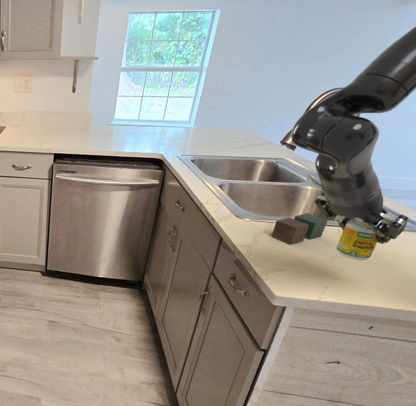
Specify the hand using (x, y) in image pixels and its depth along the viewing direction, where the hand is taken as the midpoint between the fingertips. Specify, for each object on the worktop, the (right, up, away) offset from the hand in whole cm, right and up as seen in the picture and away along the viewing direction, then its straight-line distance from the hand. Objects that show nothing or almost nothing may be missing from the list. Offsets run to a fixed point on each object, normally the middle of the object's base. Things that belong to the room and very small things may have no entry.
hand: (365, 233), depth 77 cm
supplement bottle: (-2, -5, +1) cm, 5 cm away
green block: (+10, -2, +25) cm, 28 cm away
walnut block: (+3, -3, +23) cm, 24 cm away
